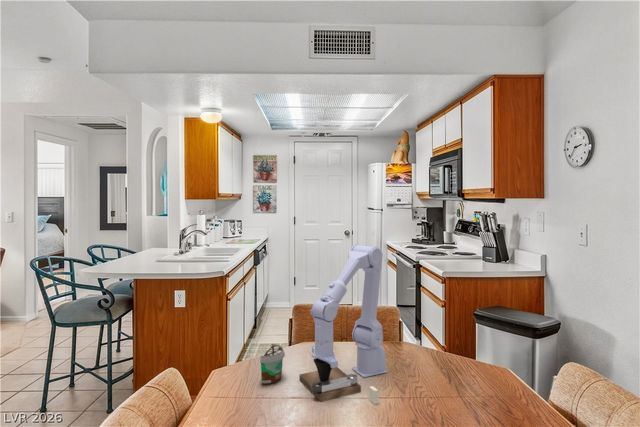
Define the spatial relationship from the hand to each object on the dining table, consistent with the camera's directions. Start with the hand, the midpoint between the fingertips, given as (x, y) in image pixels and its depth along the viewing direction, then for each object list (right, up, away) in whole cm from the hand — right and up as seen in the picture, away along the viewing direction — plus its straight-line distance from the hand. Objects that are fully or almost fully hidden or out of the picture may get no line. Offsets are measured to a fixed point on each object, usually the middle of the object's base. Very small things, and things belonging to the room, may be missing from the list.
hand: (324, 382), depth 129 cm
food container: (-16, -3, +8) cm, 19 cm away
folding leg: (+3, -1, -2) cm, 4 cm away
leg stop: (+15, -3, -7) cm, 16 cm away
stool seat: (+2, -3, +4) cm, 5 cm away
